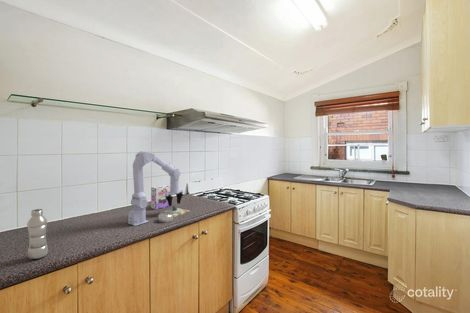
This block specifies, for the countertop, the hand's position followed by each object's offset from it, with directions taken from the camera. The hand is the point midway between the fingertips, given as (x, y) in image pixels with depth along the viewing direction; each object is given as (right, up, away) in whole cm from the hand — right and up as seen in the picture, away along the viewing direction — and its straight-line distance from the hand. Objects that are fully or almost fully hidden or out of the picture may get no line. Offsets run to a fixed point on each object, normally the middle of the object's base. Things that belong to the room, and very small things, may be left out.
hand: (174, 204), depth 159 cm
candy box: (-14, -6, +15) cm, 21 cm away
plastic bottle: (-40, -9, -64) cm, 76 cm away
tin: (-1, -7, -16) cm, 17 cm away
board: (0, -6, 0) cm, 6 cm away
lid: (0, -5, 0) cm, 5 cm away
